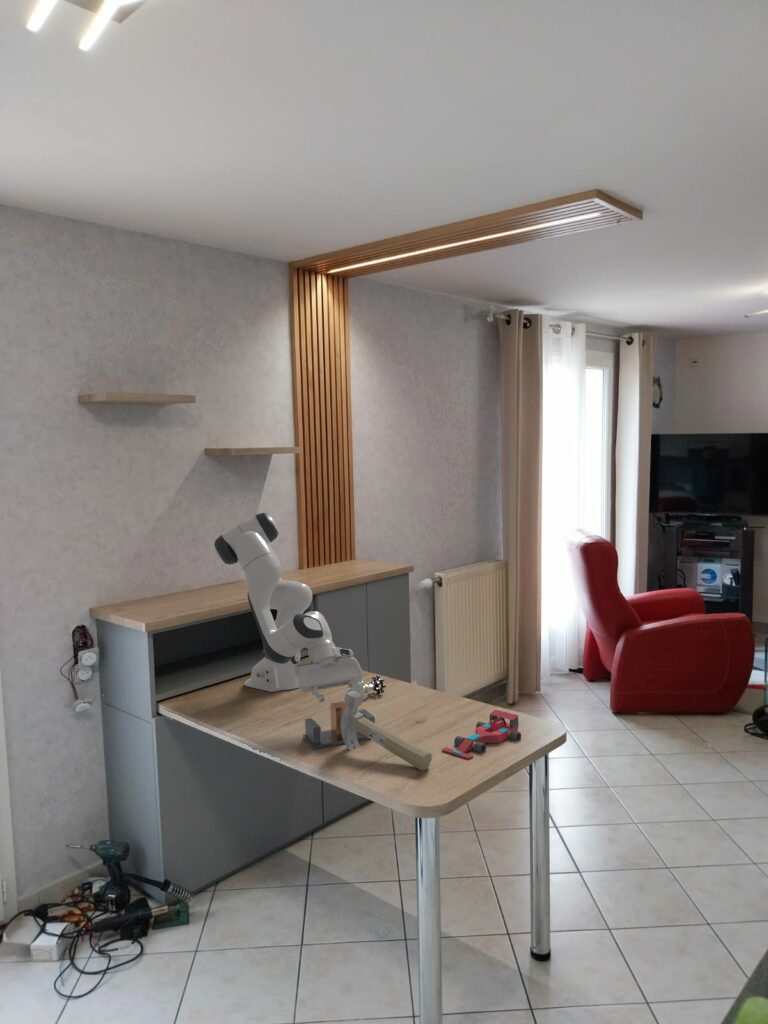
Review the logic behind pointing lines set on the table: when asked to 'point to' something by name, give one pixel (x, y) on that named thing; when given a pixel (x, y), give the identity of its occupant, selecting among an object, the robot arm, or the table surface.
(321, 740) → the vise jaws
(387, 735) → the hammer
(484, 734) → the race car
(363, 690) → the valve
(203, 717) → the table surface
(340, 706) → the wooden rectangular block
